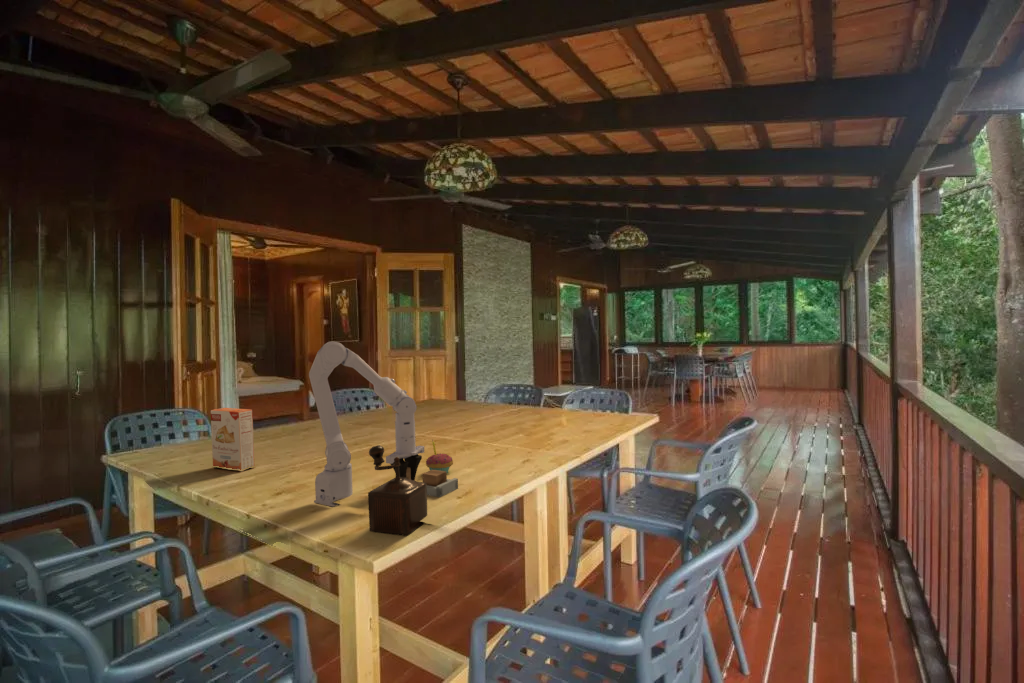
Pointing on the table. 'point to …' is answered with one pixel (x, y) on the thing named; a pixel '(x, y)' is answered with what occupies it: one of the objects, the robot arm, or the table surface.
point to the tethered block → (431, 477)
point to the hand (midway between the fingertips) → (406, 482)
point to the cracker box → (232, 438)
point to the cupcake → (439, 461)
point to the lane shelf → (443, 488)
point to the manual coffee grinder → (396, 501)
